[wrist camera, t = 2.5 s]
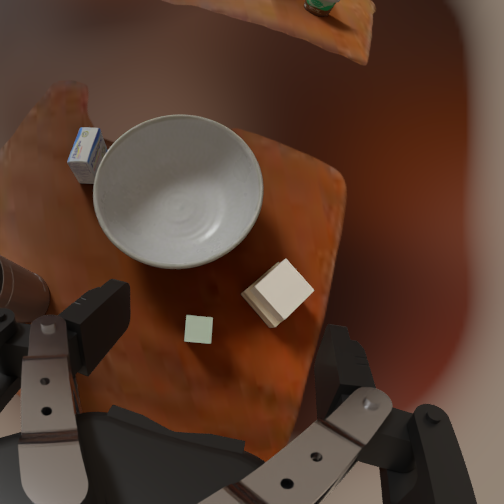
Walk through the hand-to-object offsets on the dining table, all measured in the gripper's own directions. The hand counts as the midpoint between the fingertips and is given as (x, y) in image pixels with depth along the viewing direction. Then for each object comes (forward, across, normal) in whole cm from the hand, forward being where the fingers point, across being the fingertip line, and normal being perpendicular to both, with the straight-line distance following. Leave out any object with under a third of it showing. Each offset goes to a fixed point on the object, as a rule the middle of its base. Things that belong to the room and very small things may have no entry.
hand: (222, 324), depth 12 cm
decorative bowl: (+45, -17, -8) cm, 49 cm away
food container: (+101, +2, +61) cm, 118 cm away
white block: (+39, +4, -16) cm, 43 cm away
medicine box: (+45, -36, -1) cm, 58 cm away
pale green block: (+35, -8, -25) cm, 43 cm away
